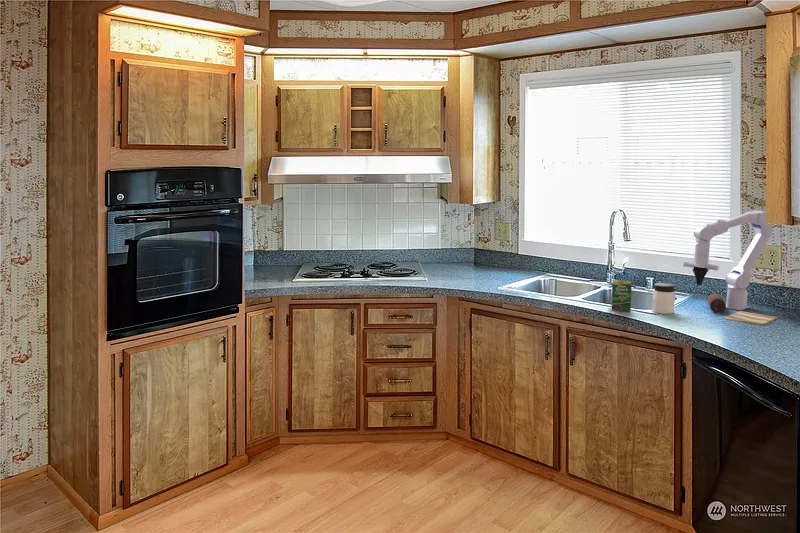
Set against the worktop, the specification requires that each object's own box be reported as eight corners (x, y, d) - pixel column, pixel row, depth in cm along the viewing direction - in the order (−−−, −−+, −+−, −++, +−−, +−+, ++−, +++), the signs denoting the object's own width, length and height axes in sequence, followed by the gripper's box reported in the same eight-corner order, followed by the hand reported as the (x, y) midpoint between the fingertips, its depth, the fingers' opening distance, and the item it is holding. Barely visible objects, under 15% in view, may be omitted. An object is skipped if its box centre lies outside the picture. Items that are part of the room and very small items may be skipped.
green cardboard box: (610, 310, 289) (612, 280, 287) (611, 308, 292) (613, 279, 289) (630, 312, 286) (632, 281, 284) (630, 310, 288) (632, 280, 286)
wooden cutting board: (739, 312, 287) (739, 311, 287) (777, 318, 277) (777, 317, 277) (723, 318, 275) (723, 317, 275) (762, 325, 264) (762, 324, 264)
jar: (649, 309, 291) (651, 282, 289) (668, 309, 291) (670, 282, 289) (656, 314, 282) (658, 286, 280) (676, 314, 282) (678, 286, 280)
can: (711, 314, 286) (708, 308, 299) (727, 311, 284) (724, 304, 297) (707, 301, 286) (705, 295, 299) (723, 297, 284) (720, 291, 297)
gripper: (681, 253, 294) (679, 283, 296) (715, 256, 283) (712, 288, 286) (688, 251, 298) (685, 281, 301) (721, 255, 288) (719, 286, 290)
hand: (699, 284), depth 293 cm, fingers closed
